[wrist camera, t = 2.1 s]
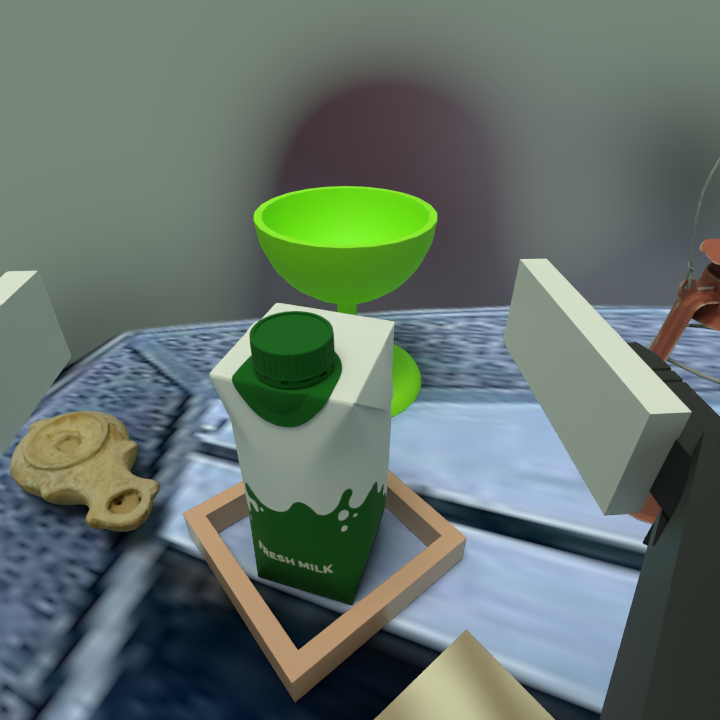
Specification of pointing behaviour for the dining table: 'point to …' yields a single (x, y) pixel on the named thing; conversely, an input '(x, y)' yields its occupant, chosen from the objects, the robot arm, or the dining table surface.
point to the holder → (358, 622)
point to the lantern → (700, 302)
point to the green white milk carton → (312, 441)
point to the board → (465, 689)
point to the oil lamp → (85, 469)
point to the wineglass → (350, 252)
